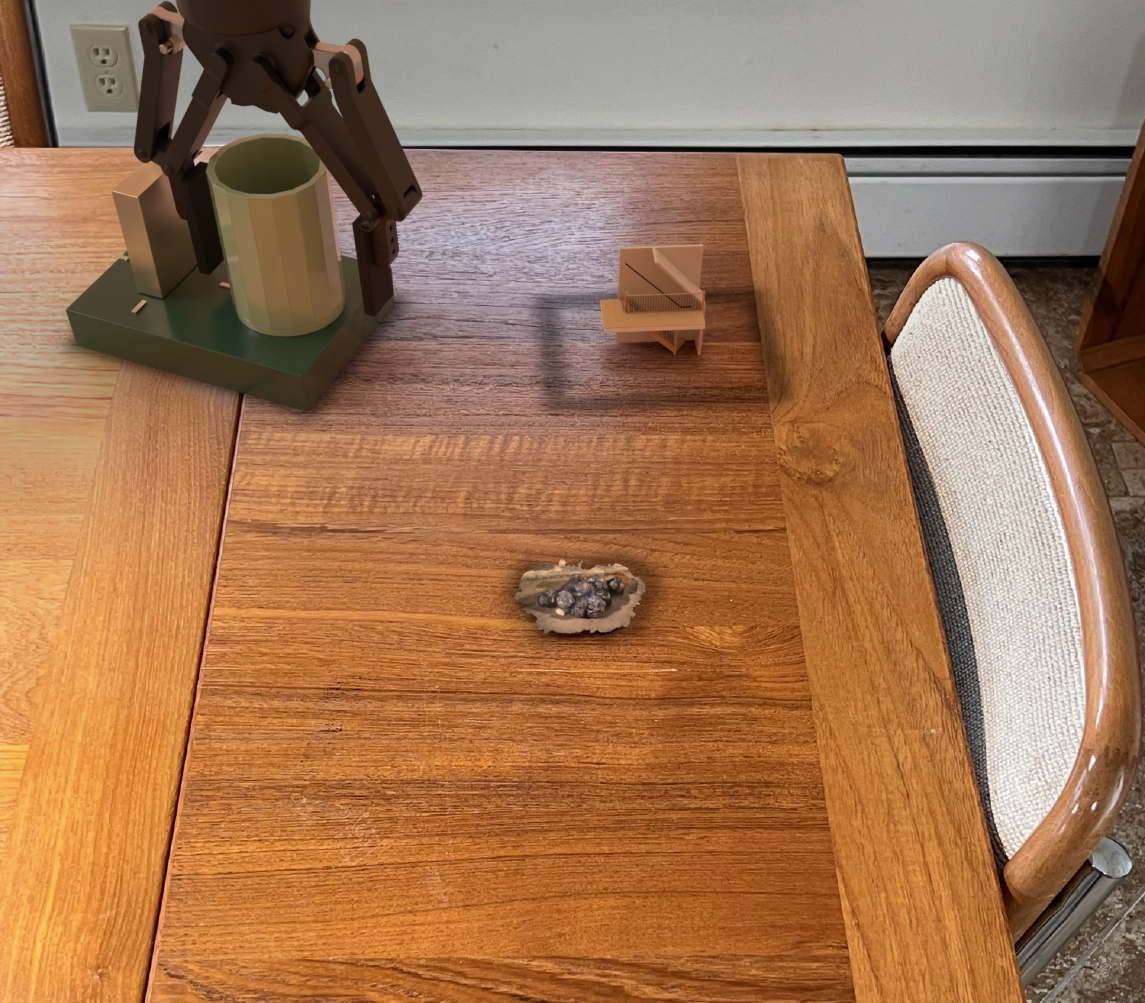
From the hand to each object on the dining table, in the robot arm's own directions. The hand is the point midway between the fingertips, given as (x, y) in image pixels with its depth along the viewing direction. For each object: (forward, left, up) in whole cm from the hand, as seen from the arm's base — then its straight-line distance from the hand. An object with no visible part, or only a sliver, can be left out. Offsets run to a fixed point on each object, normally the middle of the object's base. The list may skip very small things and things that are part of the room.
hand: (295, 283), depth 95 cm
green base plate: (-5, 0, -5) cm, 7 cm away
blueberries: (+27, -15, -5) cm, 31 cm away
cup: (-1, 0, -2) cm, 2 cm away
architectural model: (+23, +9, -5) cm, 25 cm away
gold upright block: (-10, 0, -2) cm, 10 cm away
